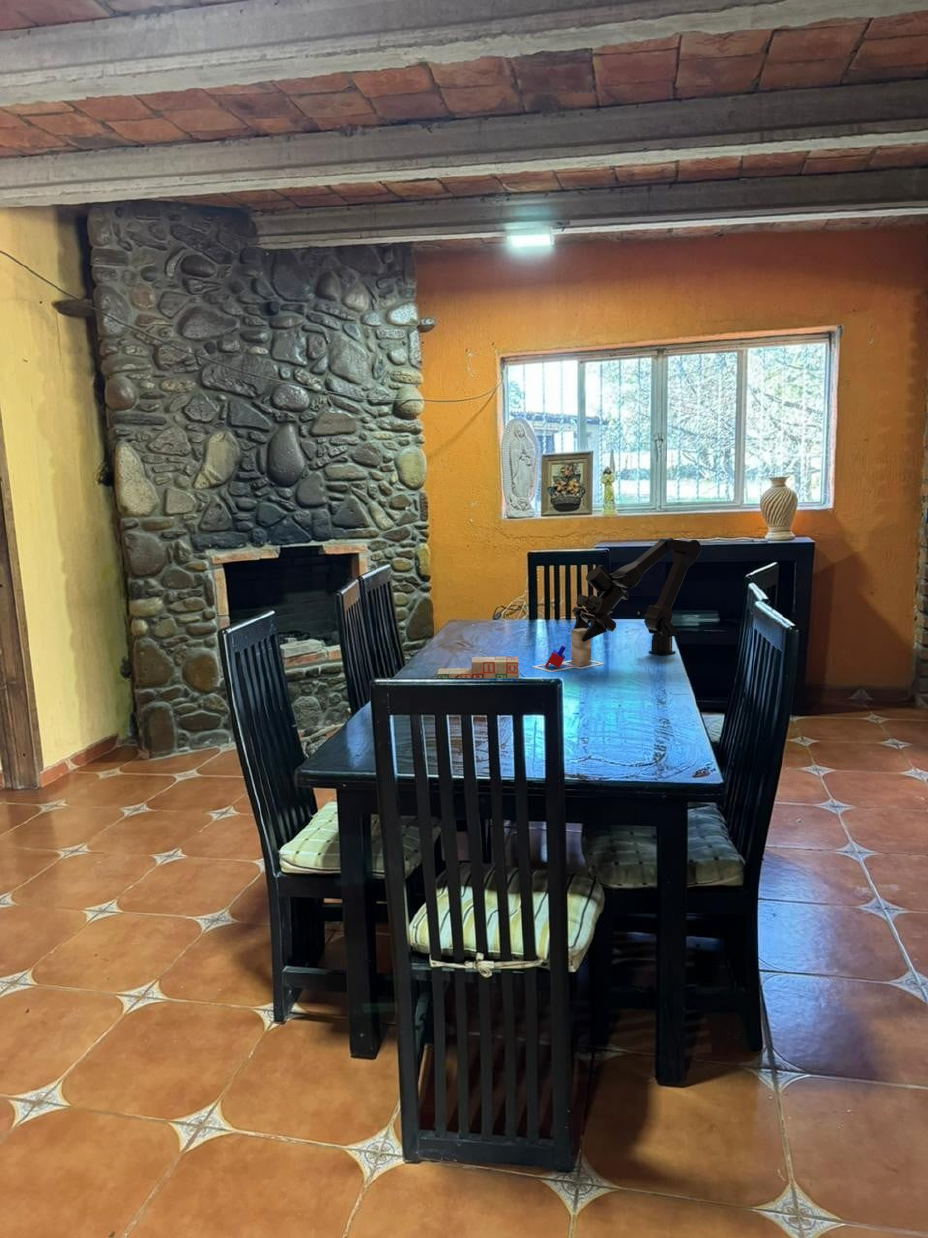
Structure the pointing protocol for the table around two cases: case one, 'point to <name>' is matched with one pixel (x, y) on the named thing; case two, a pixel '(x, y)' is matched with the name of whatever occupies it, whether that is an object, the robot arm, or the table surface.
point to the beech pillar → (580, 648)
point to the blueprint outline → (567, 665)
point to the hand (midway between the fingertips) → (577, 639)
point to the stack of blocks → (484, 668)
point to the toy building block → (556, 657)
